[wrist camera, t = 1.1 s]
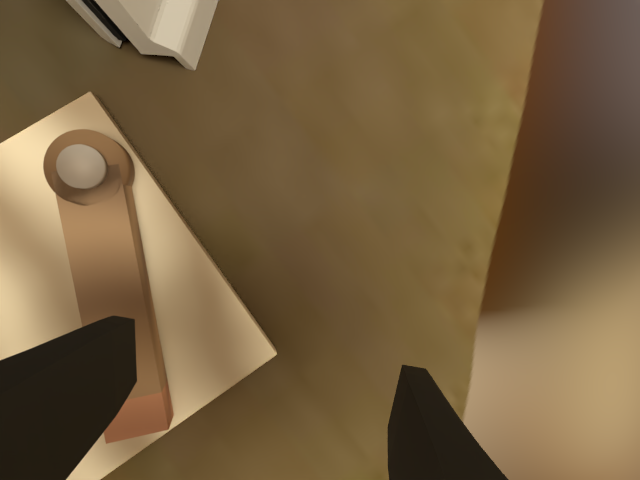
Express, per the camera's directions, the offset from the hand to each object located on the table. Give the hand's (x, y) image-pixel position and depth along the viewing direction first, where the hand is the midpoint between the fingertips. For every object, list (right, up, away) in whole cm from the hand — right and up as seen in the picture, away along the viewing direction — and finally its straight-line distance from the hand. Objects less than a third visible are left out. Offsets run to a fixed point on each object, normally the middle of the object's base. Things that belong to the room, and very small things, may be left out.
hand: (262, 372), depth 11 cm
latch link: (-9, +1, +10) cm, 14 cm away
